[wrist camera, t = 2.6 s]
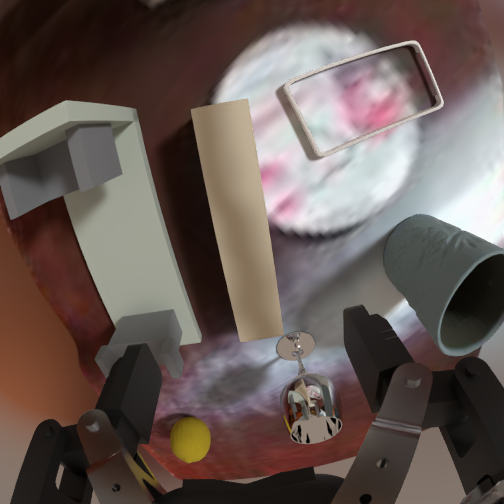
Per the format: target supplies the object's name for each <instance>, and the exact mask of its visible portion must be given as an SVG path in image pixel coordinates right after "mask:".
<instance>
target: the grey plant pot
mask: <svg viewBox="0 0 504 504" xmlns="http://www.w3.org/2000/svg"><path fill="white" fill-rule="evenodd" d="M383 262H384V268H385V271H386V274H387V276H388V277H389V279H390V280H391V282H392V283H393V284H394V286H395V287H396V289H397V290H398V291H399V292H400V293H402V294H403V295H404V297H405V298H406V299H407V301H408V303H409V306H410V307H412V308H413V309H414V310H415V311H416V315H417V317H418V318H419V320H420V321H421V323H422V324H423V325H424V327H425V328H426V330H427V331H428V333H429V334H430V335H431V337H432V339H433V340H434V342H435V343H436V345H437V346H438V348H439V349H440V350H441V352H442V353H444V354H446V355H448V356H462V355H465V354H468V353H470V352H472V351H474V350H476V349H477V348H479V347H480V346H481V345H483V344H484V343H485V342H486V341H488V340H489V339H490V338H491V337H492V336H493V335H494V333H495V332H496V331H497V330H498V329H499V327H500V326H501V325H502V323H503V322H504V249H502V248H500V247H498V246H496V245H494V244H492V243H490V242H488V241H486V240H484V239H482V238H480V237H478V236H475V235H473V234H471V233H469V232H467V231H462V230H461V229H460V228H458V227H455V226H453V225H451V224H448V223H446V222H443V221H441V220H439V219H437V218H435V217H432V216H430V215H423V214H420V215H417V214H416V215H414V216H412V217H409V218H408V219H405V220H404V221H403V222H402V223H401V224H399V225H398V226H397V227H396V229H395V230H393V233H391V235H390V237H389V238H388V240H387V243H386V246H385V250H384V256H383Z"/></svg>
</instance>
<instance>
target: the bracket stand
mask: <svg viewBox="0 0 504 504" xmlns="http://www.w3.org/2000/svg"><path fill="white" fill-rule="evenodd" d="M0 185H1V189H2V193H3V196H4V200H5V203H6V207H7V210H8V213H9V216H10V219H11V220H12V219H15V218H17V217H19V216H21V215H23V214H25V213H27V212H28V211H30V210H32V209H34V208H36V207H38V206H40V205H42V204H44V203H46V202H48V201H50V200H53V199H55V198H58V197H60V196H64V200H65V203H66V206H67V209H68V212H69V215H70V219H71V222H72V225H73V227H74V230H75V233H76V236H77V239H78V242H79V244H80V247H81V250H82V252H83V255H84V258H85V260H86V263H87V265H88V268H89V270H90V273H91V275H92V277H93V280H94V282H95V284H96V287H97V289H98V291H99V294H100V296H101V298H102V300H103V302H104V305H105V307H106V309H107V311H108V313H109V315H110V317H111V319H112V321H113V323H114V326H115V328H116V330H115V332H114V334H113V336H112V338H111V340H110V342H109V344H108V345H104V346H101V347H100V349H99V351H98V353H97V355H96V357H95V359H94V360H95V361H96V363H97V364H98V366H99V368H100V369H101V371H102V372H103V374H104V375H105V377H106V379H107V377H108V376H109V372H110V370H111V368H112V365H113V364H114V363H115V362H116V361H117V360H118V359H119V358H120V357H123V355H124V353H125V351H126V348H127V346H128V345H131V344H140V343H146V344H147V345H148V346H149V348H150V350H151V352H152V354H153V356H154V358H155V360H156V362H157V364H158V365H164V364H165V365H166V367H167V369H168V371H169V373H170V374H171V376H172V378H181V375H182V369H183V364H184V362H183V360H182V357H181V355H180V353H179V346H180V345H185V344H192V343H200V342H201V337H202V335H201V332H200V329H199V327H198V324H197V321H196V318H195V316H194V313H193V310H192V307H191V304H190V301H189V298H188V295H187V292H186V289H185V287H184V284H183V280H182V277H181V274H180V271H179V268H178V265H177V262H176V259H175V256H174V252H173V249H172V246H171V243H170V239H169V236H168V233H167V229H166V226H165V222H164V219H163V215H162V212H161V208H160V205H159V201H158V197H157V194H156V190H155V186H154V183H153V179H152V175H151V171H150V167H149V163H148V159H147V155H146V151H145V146H144V142H143V138H142V133H141V129H140V124H139V120H138V115H137V111H136V109H134V108H128V107H121V106H113V105H106V104H97V103H88V102H78V101H67V100H66V101H63V102H61V103H60V104H58V105H56V106H54V107H52V108H50V109H48V110H46V111H44V112H42V113H41V114H39V115H37V116H35V117H34V118H32V119H30V120H28V121H27V122H25V123H23V124H22V125H20V126H18V127H17V128H15V129H14V130H12V131H10V132H9V133H7V134H6V135H4V136H3V137H1V138H0Z"/></svg>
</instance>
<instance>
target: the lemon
mask: <svg viewBox="0 0 504 504" xmlns="http://www.w3.org/2000/svg"><path fill="white" fill-rule="evenodd" d="M170 444H171V448H172V451H173V453H174V454H175V455H176V456H177V457H178V458H179V459H181V460H183V461H185V462H186V463H191V462H196V461H199V460H201V459H202V458H203V457H204V456H205V455H206V454H207V452H208V450H209V447H210V432H209V429H208V427H207V426H206V424H205V423H204V422H203V421H201V420H200V419H197V418H195V417H193V416H191V417H185V418H182V419H180V420H178V421H177V422H176V423H175V424H174V426H173V428H172V430H171V434H170Z"/></svg>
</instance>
